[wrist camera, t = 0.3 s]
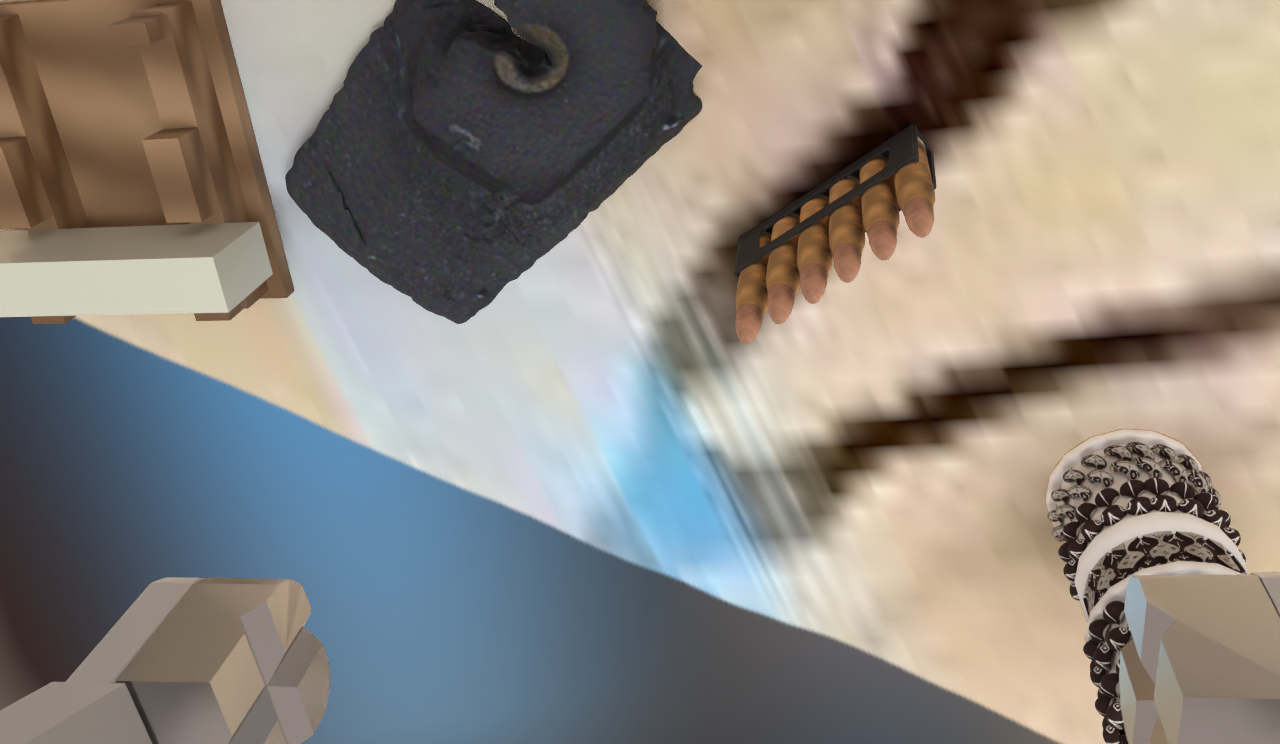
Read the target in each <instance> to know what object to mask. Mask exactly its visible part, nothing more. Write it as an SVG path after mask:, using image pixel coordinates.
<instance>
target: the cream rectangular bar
mask: <svg viewBox="0 0 1280 744" xmlns="http://www.w3.org/2000/svg"><path fill="white" fill-rule="evenodd" d="M272 274H273V273H272V269H271V265H270V261H269V257H268V254H267V250H266V246H265V242H264V238H263V235H262V231H261V227H260V223H259V222H241V223H213V224H185V225H157V226H129V227H101V228H73V229H45V230H17V231H0V317H25V316H78V315H129V314H180V313H229V312H230V311H231V310H232V309H233V308H234V307H236V306H237V305H238V304H239V303H240V302H241V301H243V300H244V299H245V298H246V297H247V296H248V295H249V294H251V293H252V292H253V291H254V290H255V289H256V288H257V287H259V286H260V285H261V284H262V283H263V282H264V281H265V280H267V279H268V278H269V277H270V276H271V275H272Z"/></svg>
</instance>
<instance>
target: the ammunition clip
mask: <svg viewBox="0 0 1280 744" xmlns="http://www.w3.org/2000/svg"><path fill="white" fill-rule="evenodd" d="M934 189H936V178H935V168H934V157H933V151H932V150H931V148H930V147H929V145H928V144H927V142H926V141H925V139H924V138H923V136H922V135H921V133H920V132H919V130H918V129H917V127H916V126H915V125H914V124H911V125H910V126H908V127H907V128H905V129H904V130H902V131H901V132H899V133H898V134H896V135H895V136H893V137H892V138H890V139H888V140H887V141H885V142H884V143H882V144H881V145H879V146H878V147H876V148H875V149H873V150H872V151H870V152H869V153H867V154H866V155H864V156H863V157H861V158H859V159H858V160H856V161H855V162H853V163H852V164H850V165H849V166H847V167H846V168H844V169H843V170H841V171H840V172H838V173H837V174H835V175H834V176H832V177H831V178H829V179H827V180H826V181H824V182H823V183H821V184H820V185H818V186H817V187H815V188H814V189H812V190H811V191H809V192H808V193H806V194H805V195H803V196H802V197H800V198H798V199H797V200H795V201H794V202H792V203H791V204H789V205H788V206H786V207H785V208H783V209H782V210H780V211H779V212H777V213H776V214H774V215H773V216H771V217H770V218H768V219H766V220H765V221H763V222H762V223H760V224H759V225H757V226H756V227H754V228H753V229H751V230H750V231H748V232H747V233H745V234H744V235H742V236H741V237H740V238H739V240H738V246H737V253H736V261H735V268H734V274H735V275H736V277H739V281H738V286H737V292H736V297H735V302H736V308H737V311H736V315H737V316H736V330H737V335H738V337H739V339H740V341H741V342H742V343H743V344H749V343H750V342H752V341H753V340H754V338H755V337H756V336H757V334H758V332H759V330H760V327H761V324H762V320H763V317H764V313H765V312H766V310H767V309H768V310H769V314H770V316H771V318H772V320H773V321H774V322H775V323H776V324H782V323H783V322H785V320H786V319H787V318H788V317H789V315H790V313H791V311H792V308H793V305H794V299H795V296H796V293H797V291H798V289H799V286H800V285H801V291H802V293H803V295H804V297H805V299H806V300H807V301H808V302H809V303H811V304H814V303H816V302H818V301H819V300H820V298H821V297H822V296H823V294H824V291H825V288H826V285H827V278H828V273H829V271H830V269H831V266H832V260H833V259H834V267H835V270H836V272H837V274H838V276H839V278H840V279H841V280H842V281H844V282H846V283H848V282H851V281H852V280H854V278H855V277H856V276H857V274H858V271H859V268H860V264H861V256H862V251H863V248H864V245H865V232H867V235H868V238H869V243H870V246H871V249H872V251H873V253H874V254H875V255H876V256H877V257H878V258H879V259H881V260H887V259H889V258H890V257H891V256H892V254H893V252H894V250H895V247H896V242H897V228H898V225H899V211H901V210H902V211H903V214H904V216H905V220H906V222H907V224H908V227H909V229H910V230H911V231H912V232H913V233H914V234H915V235H916V236H918V237H925V236H927V235H928V234H929V232H930V231H931V228H932V226H933V221H934V213H933V205H934V202H935V192H934ZM739 272H740V276H739Z"/></svg>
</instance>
